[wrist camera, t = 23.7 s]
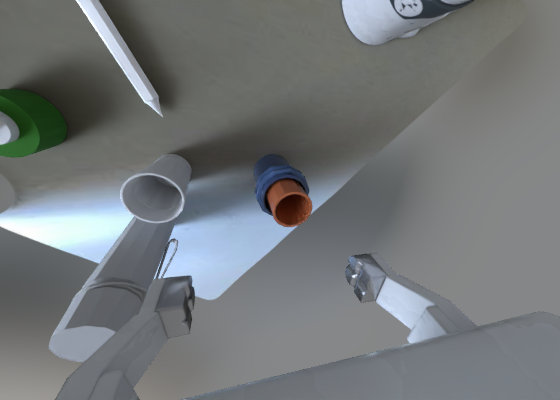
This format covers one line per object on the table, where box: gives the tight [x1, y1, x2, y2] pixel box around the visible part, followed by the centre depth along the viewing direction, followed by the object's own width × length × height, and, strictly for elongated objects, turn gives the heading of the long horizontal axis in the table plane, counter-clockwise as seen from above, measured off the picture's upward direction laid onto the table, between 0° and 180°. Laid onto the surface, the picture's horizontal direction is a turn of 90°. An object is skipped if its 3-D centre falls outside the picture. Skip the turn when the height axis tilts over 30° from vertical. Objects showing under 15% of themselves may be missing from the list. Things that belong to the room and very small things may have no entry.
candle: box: [0, 89, 67, 157], centre depth 26 cm, size 8×8×10 cm
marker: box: [76, 0, 163, 117], centre depth 29 cm, size 3×2×16 cm
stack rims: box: [255, 164, 309, 213], centre depth 35 cm, size 9×9×2 cm
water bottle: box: [49, 216, 178, 362], centre depth 32 cm, size 9×8×25 cm
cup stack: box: [254, 154, 308, 216], centre depth 38 cm, size 8×8×12 cm
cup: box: [120, 154, 191, 223], centre depth 34 cm, size 8×8×12 cm
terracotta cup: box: [265, 178, 312, 227], centre depth 34 cm, size 6×6×10 cm
